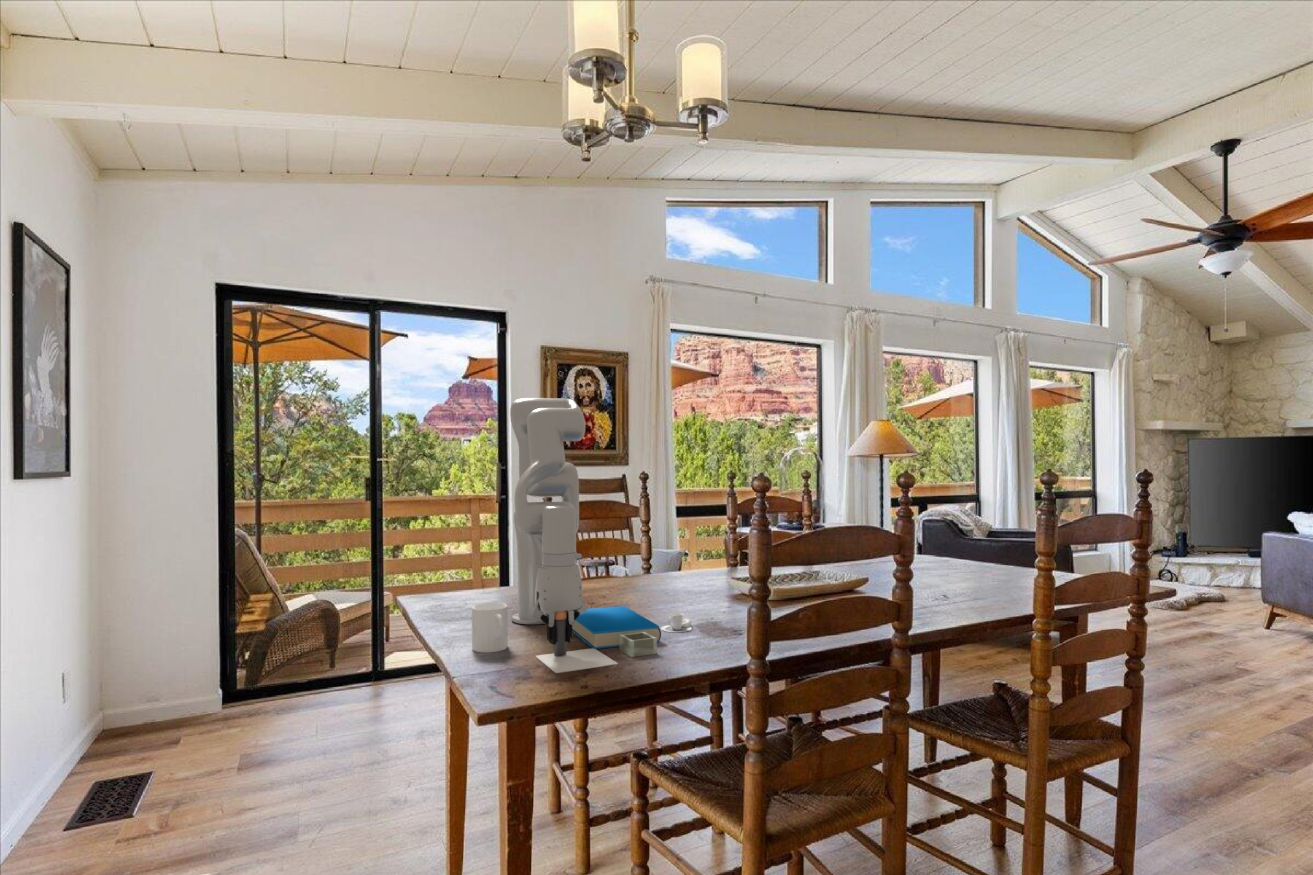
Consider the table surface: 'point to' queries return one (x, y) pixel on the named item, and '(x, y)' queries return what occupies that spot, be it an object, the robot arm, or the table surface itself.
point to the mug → (489, 627)
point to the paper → (576, 660)
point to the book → (611, 626)
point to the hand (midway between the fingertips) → (559, 641)
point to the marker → (560, 633)
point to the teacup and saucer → (677, 623)
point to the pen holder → (638, 644)
